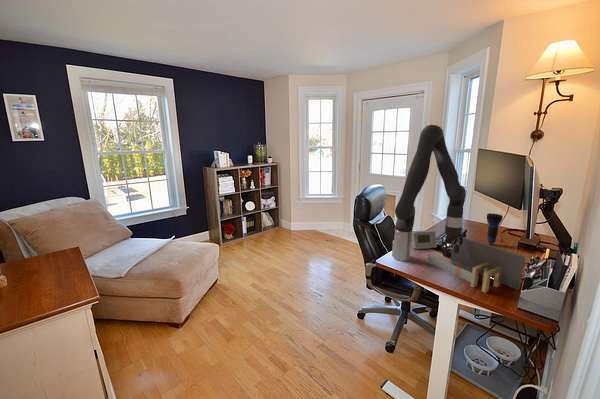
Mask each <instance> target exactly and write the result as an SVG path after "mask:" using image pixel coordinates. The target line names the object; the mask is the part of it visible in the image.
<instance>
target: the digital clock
mask: <svg viewBox="0 0 600 399" xmlns="http://www.w3.org/2000/svg"><path fill="white" fill-rule="evenodd" d="M411 244H412V249H414V250H425V249H426V250H427V249H435V248H437V247H438V242H437V233H436V230H433V229H432V230H427V229H426V230H416V231H415V230H412V242H411Z"/></svg>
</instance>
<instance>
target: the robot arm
mask: <svg viewBox="0 0 600 399" xmlns="http://www.w3.org/2000/svg"><path fill="white" fill-rule="evenodd" d="M432 154H434V158H435V162H436V166H437V169H438V172H439V175H440V177H441V180H442V181H443V185H444V189H445V192H446V195H447V197H448V199H449V200H448V201H449V203H448V205H447V210H446V217H445V226H444V234H446V236H445V237H441V244H440V249H442V250H443V255H442V256H444V257H446V258H449V254H450V249H451V248H452V245H453V244H454V245H455V246H454V253H459V247H460V245H462V244H463V237H464V234H463V226H464V220H463V219H464V206H465V201H466V197H467V196H466V195H467V190H466V188H465V187H464V186H463V185H461V183H460V181H459V173H458V171H457V169H456V168H455V164H454V163H453V160H452V157H451V155H450V153H449V150H448V147H447V144H446V141H445V135H444V130H443V129H442V127H440V126H439V125H436V124H428V125H426V126H425V127H423V128H422V130H421V132H420V135H419V140H418V144H417V149H416V152H415V154H414V156H413V159H412V162H411V164H410V167H409V169H408V173H407V176H406V179H405V183H404V186H403V188H402V192H401V195H400V197H399V200H398V202H397V204H396V206H395V209H394V214H395V216H396V222H395V226H394V239H393V240H392V249H391V256H392V257H393V258H394V260H396V261H401V262H407V261H410V259H411V252H412V232H413V231H414V230H413V229H414V226H415V225H414V224H415V216H416V207H415V205H414V204H415V202H416V199H417V197H418V194H420V192H421V190H422V188H423V186H424V185H425V182H426V180H427V177H428V175H429V170H430V165H431V158H432V157H431V156H432ZM459 240H460V241H461V242H460V241H459Z"/></svg>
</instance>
